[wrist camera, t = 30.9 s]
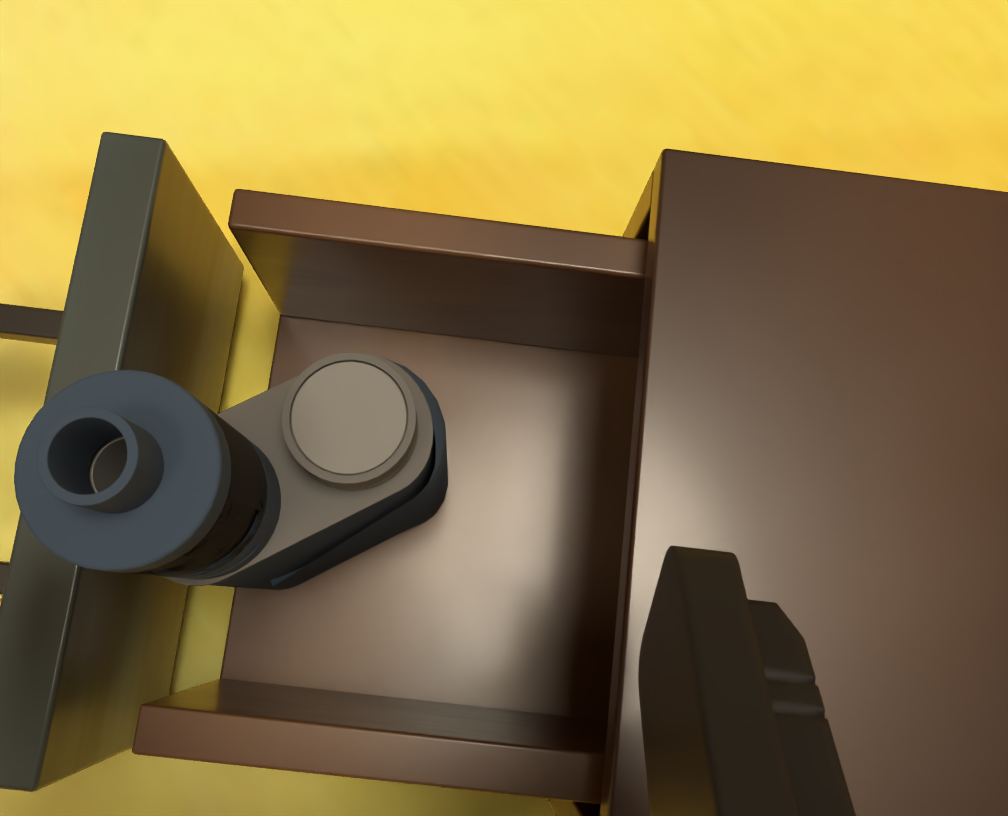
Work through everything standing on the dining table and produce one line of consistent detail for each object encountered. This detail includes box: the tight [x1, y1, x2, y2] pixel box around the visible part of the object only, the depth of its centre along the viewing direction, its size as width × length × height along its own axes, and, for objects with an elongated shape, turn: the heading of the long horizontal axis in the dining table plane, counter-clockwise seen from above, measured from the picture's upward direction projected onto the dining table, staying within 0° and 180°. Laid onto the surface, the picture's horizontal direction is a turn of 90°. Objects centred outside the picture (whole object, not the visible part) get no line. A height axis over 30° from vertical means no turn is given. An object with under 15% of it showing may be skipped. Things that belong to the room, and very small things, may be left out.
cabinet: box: [548, 149, 1008, 816], centre depth 20 cm, size 16×13×9 cm
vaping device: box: [14, 352, 448, 590], centre depth 16 cm, size 3×5×12 cm, turn 117°
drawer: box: [0, 132, 648, 804], centre depth 20 cm, size 20×11×7 cm, turn 84°
